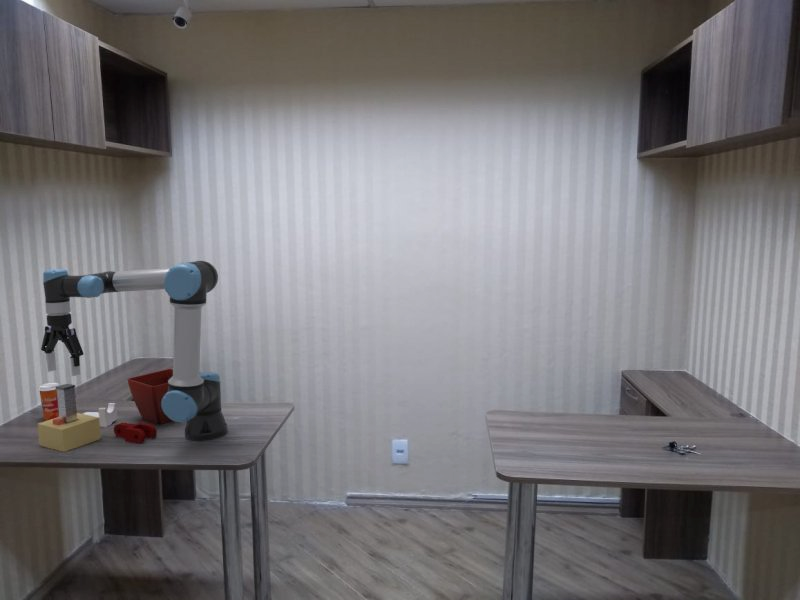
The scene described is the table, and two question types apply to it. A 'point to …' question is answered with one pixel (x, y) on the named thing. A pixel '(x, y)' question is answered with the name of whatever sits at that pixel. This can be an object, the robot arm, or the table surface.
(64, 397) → the column
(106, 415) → the bracket
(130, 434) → the mechanical linkage
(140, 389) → the plant pot
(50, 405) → the paper cup
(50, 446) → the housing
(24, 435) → the table surface
